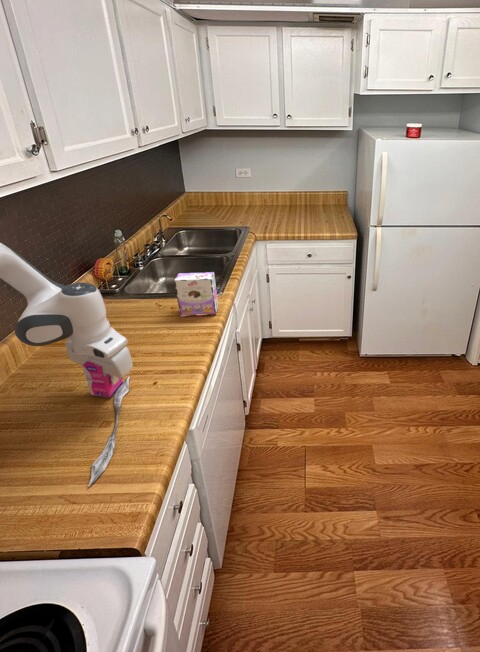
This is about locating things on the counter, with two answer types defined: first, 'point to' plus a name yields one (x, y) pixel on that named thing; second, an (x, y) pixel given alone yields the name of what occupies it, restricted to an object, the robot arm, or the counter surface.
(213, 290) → the candy box
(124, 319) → the counter surface
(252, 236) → the counter surface
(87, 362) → the supplement box
